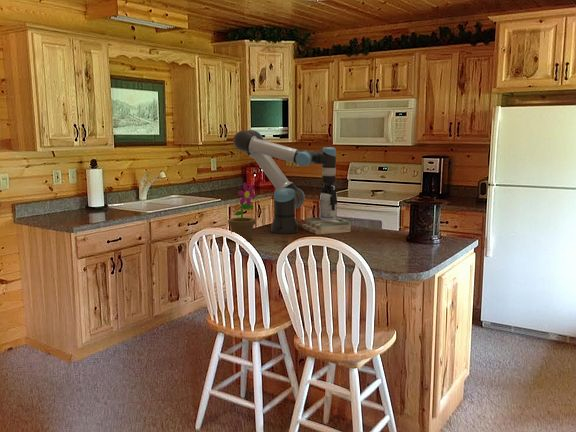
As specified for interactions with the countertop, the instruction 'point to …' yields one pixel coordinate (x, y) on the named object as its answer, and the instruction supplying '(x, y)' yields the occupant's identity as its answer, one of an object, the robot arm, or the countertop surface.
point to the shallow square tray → (327, 226)
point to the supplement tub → (326, 207)
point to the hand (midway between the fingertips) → (328, 214)
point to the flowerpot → (242, 224)
